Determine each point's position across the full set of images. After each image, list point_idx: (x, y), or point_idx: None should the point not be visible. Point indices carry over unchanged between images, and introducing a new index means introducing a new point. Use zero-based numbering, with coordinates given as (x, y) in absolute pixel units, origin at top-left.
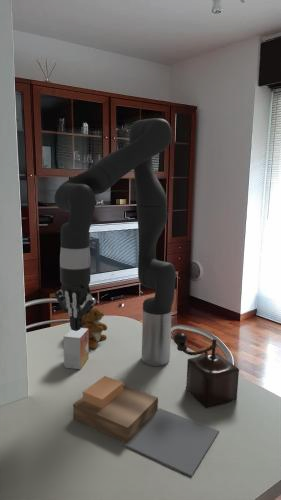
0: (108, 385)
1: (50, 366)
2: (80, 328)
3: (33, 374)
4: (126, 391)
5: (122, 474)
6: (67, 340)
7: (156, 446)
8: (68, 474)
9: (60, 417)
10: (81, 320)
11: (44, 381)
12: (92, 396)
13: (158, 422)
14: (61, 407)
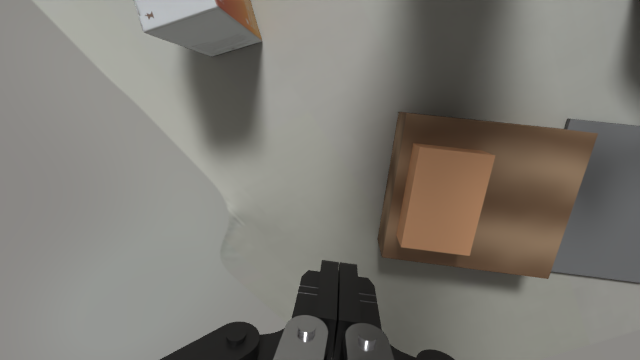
0: (456, 190)
1: (172, 70)
2: (355, 264)
3: (167, 131)
4: (492, 149)
5: (540, 322)
6: (171, 32)
7: (592, 247)
8: (449, 352)
9: (349, 245)
10: (378, 318)
11: (218, 146)
12: (434, 249)
13: None
14: (329, 217)
